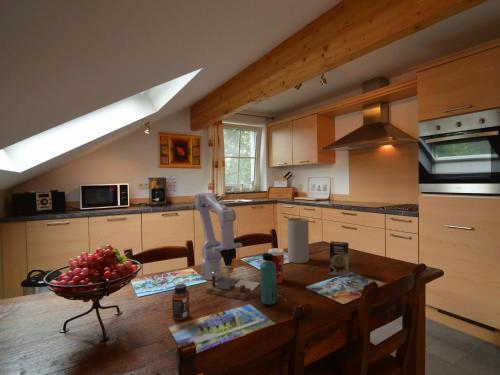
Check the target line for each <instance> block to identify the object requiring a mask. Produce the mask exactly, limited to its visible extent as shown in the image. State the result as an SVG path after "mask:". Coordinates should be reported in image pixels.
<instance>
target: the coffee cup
mask: <svg viewBox="0 0 500 375" xmlns="http://www.w3.org/2000/svg"><path fill="white" fill-rule="evenodd" d="M267 253H270V254H273V260H272V261H271V262H273V263H274V264H275V265H276V274H277V275H276V284H280V283H283V280H284V279H283V278H284V262H285V260H284V259H285V251H284V249H282V248H275V247H274V248H270V249H268V252H267Z"/></svg>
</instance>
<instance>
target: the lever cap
mask: <svg viewBox="0 0 500 375" xmlns="http://www.w3.org/2000/svg"><path fill="white" fill-rule="evenodd" d="M217 283H218V289H221V290H227V291H231V290H232V289H233V288H234V287H235V284H236V283H235V278H234V277H229V278H227V277H221V278H220V279H218V280H217Z"/></svg>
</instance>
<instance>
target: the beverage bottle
mask: <svg viewBox="0 0 500 375" xmlns="http://www.w3.org/2000/svg"><path fill="white" fill-rule="evenodd" d="M262 260H263V262H262V263H261V264H259V265H260V266H259V267H260V301H261V303H262V304H265V305H273V304H275V303H277V299H278V292H277V291H278V287H277V283H276V275H277V274H276V265H275V264H274V263H273V262H271V261H272V260H273V254H270V253H268V252H267V253H263V254H262Z"/></svg>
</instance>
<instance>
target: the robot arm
mask: <svg viewBox="0 0 500 375" xmlns="http://www.w3.org/2000/svg"><path fill="white" fill-rule="evenodd" d="M216 197H217V196H216V194H215V193H214V192H213V191H212V192H202V193H201V192H200V193H199V192H196V194H195V196H194V204H195V205H194V206H195V209H196V211H198V212H199V215H200V220H201V225H202V229H203V234H204V238H205V243H204V244H202V246H201V250H202V251H201V256H202V261H201V264H200V275H201V276H200V279H203V280H209V281H212V276H211V272H213V271H215V272H217V273H221V260H222V259H223V263H224V266H225V267H229V266H232V262H233V260H234V256H235V255H236V252H237V251H236V249H238V248H239V249H240V248H243V243H242V242H235V239H234V238H235V236H234V235H235V234H234V231H235V230H234V222H235V221H236V218H237V217H236V215H237V214H236V211H235V210H234V208H228V206H226V204H224V202H223V201H218V200H217V199H216ZM211 210H212V211H213V213H215V215H216V216H217V217H218V220H219V227H220V240H221V241H218V240H217V239H216V236H215V232H214V227H213V223H212V219H211V214H210V212H211ZM220 278H222V277H221V276H215V282H218V280H219V279H220Z"/></svg>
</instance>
